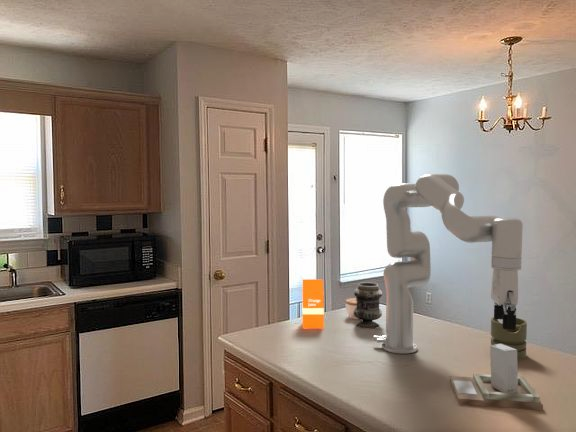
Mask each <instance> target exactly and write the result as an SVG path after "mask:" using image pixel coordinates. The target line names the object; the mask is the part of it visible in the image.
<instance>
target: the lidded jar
mask: <svg viewBox="0 0 576 432" xmlns="http://www.w3.org/2000/svg"><path fill="white" fill-rule="evenodd" d="M344 302H345V303H344V304H345V310H346V313H347V315H348V316H349V317H350V318H351V319H354V320H360V319H359V318H357V317H356V316H355V315H354V309H355V308H356V307H357V297H356V296H355V297H350V298H346V299H345V300H344Z"/></svg>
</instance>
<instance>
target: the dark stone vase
mask: <svg viewBox="0 0 576 432" xmlns="http://www.w3.org/2000/svg"><path fill="white" fill-rule="evenodd" d="M353 295H354V297H355V298H356V297H357V307H356V308H355V309H354V315H355V316H356V317H357V318H359V319H358V320H361V321H358V322H356V324H355V326H356V327H358V328H360V329H366V330H371V329H377V328H379V327H380V324H379V323H377V322H376V321H375V320H379V319H380V318H382V316H383V311H382V310H381V308H380V298H382V296H383V291H382V290H381V289H380V288H379V284H378V283H376V282H369V281H363V282H359V283H358V284H357V288H355V289H354V292H353Z"/></svg>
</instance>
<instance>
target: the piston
mask: <svg viewBox="0 0 576 432" xmlns="http://www.w3.org/2000/svg"><path fill="white" fill-rule="evenodd" d="M527 327H528V323H527V321H526V320H525V319H522V318H520V317H516V329H515V330H510V329H503V322H500V321H499V319H495V318H494V316H492V317H491V318H490V336H491V337H490V346H491V345H496V344H503V345H506V346H509V347H511V348H514V349H516V350H517V361H521V360H524V359H526V358H527V341H526V340H527V335H528V334H527V333H528V332H527V331H528V330H527V329H528V328H527Z"/></svg>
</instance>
